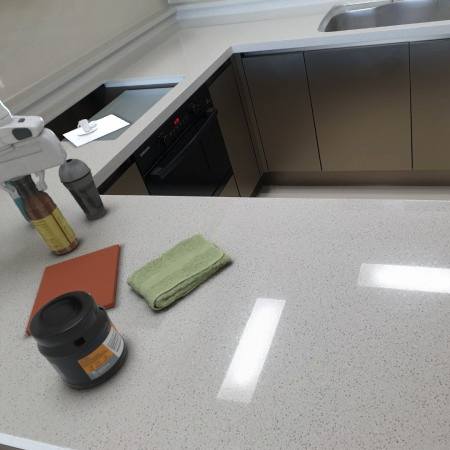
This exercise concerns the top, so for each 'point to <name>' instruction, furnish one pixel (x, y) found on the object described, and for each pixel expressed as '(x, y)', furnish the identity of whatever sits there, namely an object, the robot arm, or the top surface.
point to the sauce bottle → (45, 216)
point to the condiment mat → (81, 278)
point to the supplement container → (78, 339)
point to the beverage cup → (82, 187)
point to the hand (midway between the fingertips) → (31, 193)
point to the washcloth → (177, 271)
